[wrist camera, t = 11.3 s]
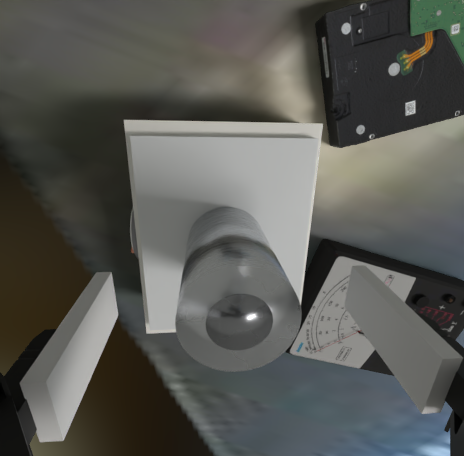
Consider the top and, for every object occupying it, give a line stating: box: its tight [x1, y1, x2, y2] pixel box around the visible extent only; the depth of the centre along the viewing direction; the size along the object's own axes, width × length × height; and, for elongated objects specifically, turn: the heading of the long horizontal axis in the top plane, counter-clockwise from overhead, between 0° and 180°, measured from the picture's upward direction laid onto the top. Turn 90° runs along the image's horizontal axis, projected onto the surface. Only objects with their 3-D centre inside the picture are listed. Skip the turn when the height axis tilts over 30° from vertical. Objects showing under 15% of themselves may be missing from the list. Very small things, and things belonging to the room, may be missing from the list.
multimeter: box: [285, 239, 464, 376], centre depth 32 cm, size 13×19×5 cm
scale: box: [124, 120, 323, 333], centre depth 25 cm, size 18×15×6 cm
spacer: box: [175, 207, 302, 372], centre depth 18 cm, size 6×6×10 cm
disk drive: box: [315, 0, 464, 148], centre depth 24 cm, size 10×3×15 cm
